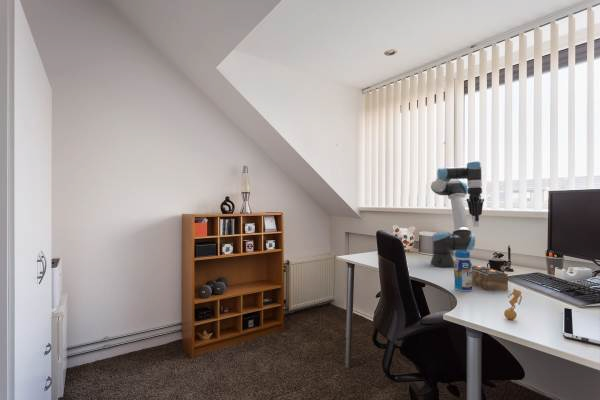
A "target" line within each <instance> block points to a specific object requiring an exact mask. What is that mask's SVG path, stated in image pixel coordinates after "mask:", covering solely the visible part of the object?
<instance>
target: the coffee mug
mask: <svg viewBox="0 0 600 400" xmlns="http://www.w3.org/2000/svg"><path fill="white" fill-rule="evenodd" d="M486 267H487V268H490V269H493V270H497V271H500V272H503V273H505V267H506V259H504V258H499V257H490V258H488V262H487V264H486Z"/></svg>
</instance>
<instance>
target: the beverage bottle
mask: <svg viewBox="0 0 600 400" xmlns="http://www.w3.org/2000/svg"><path fill="white" fill-rule="evenodd" d="M454 255H455V256H454V257H455V260H454V266H453V271H454V272H453V273H454V275H453V277H454V289H455V290H457V291H459V292H471V291H473V284H472V268H471V266H473V265H472V262H471V260H470V257H471V255H470V251H464V250H457V251H454Z"/></svg>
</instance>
